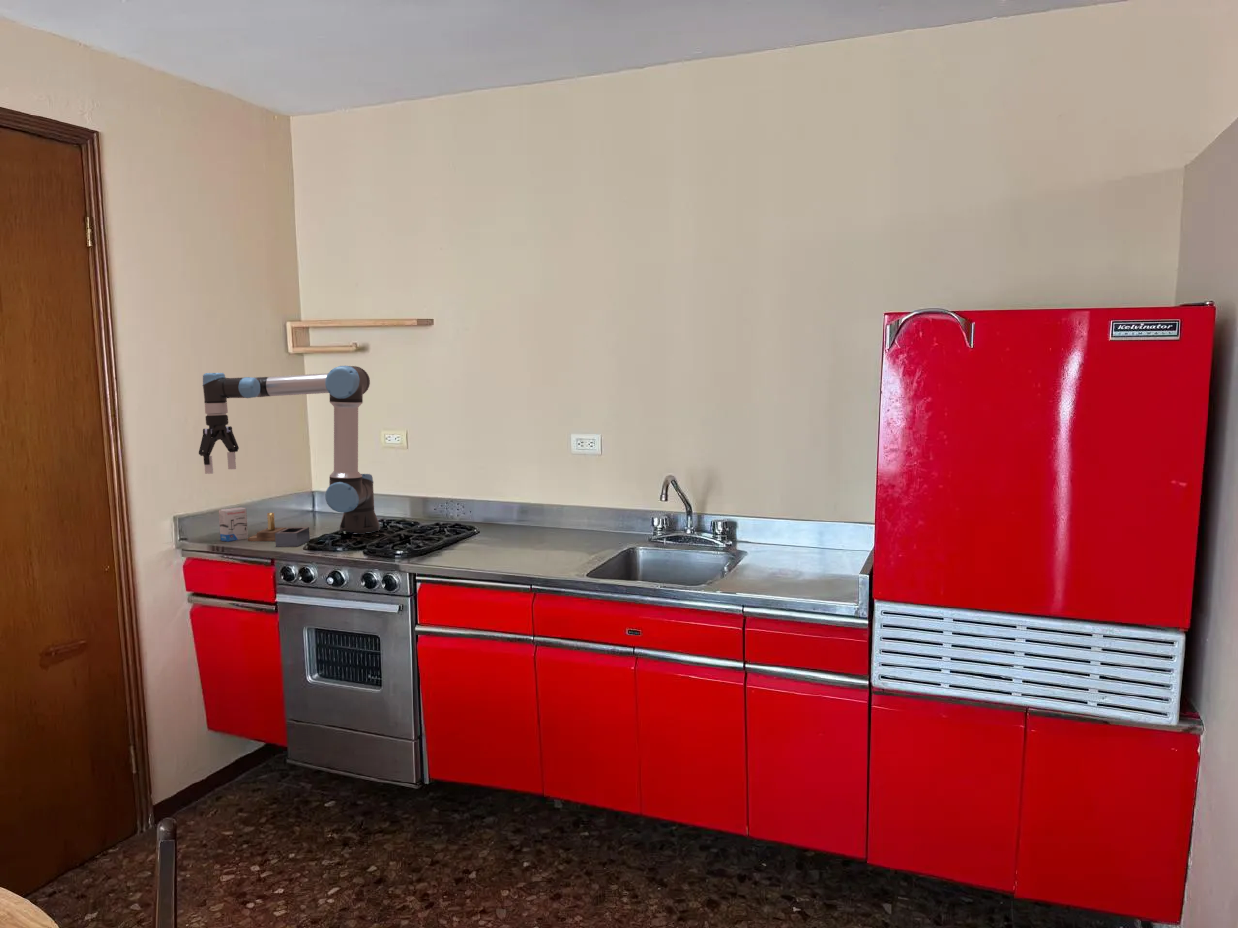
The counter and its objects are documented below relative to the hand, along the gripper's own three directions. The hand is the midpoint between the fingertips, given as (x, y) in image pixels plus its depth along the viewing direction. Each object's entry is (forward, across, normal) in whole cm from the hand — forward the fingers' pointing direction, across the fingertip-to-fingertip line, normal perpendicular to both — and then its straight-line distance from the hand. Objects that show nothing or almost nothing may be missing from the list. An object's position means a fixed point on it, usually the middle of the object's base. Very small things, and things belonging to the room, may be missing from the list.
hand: (220, 471), depth 305 cm
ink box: (+26, -2, +2) cm, 27 cm away
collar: (+26, +4, +29) cm, 40 cm away
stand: (+26, -5, +16) cm, 31 cm away
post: (+23, -5, +16) cm, 28 cm away
